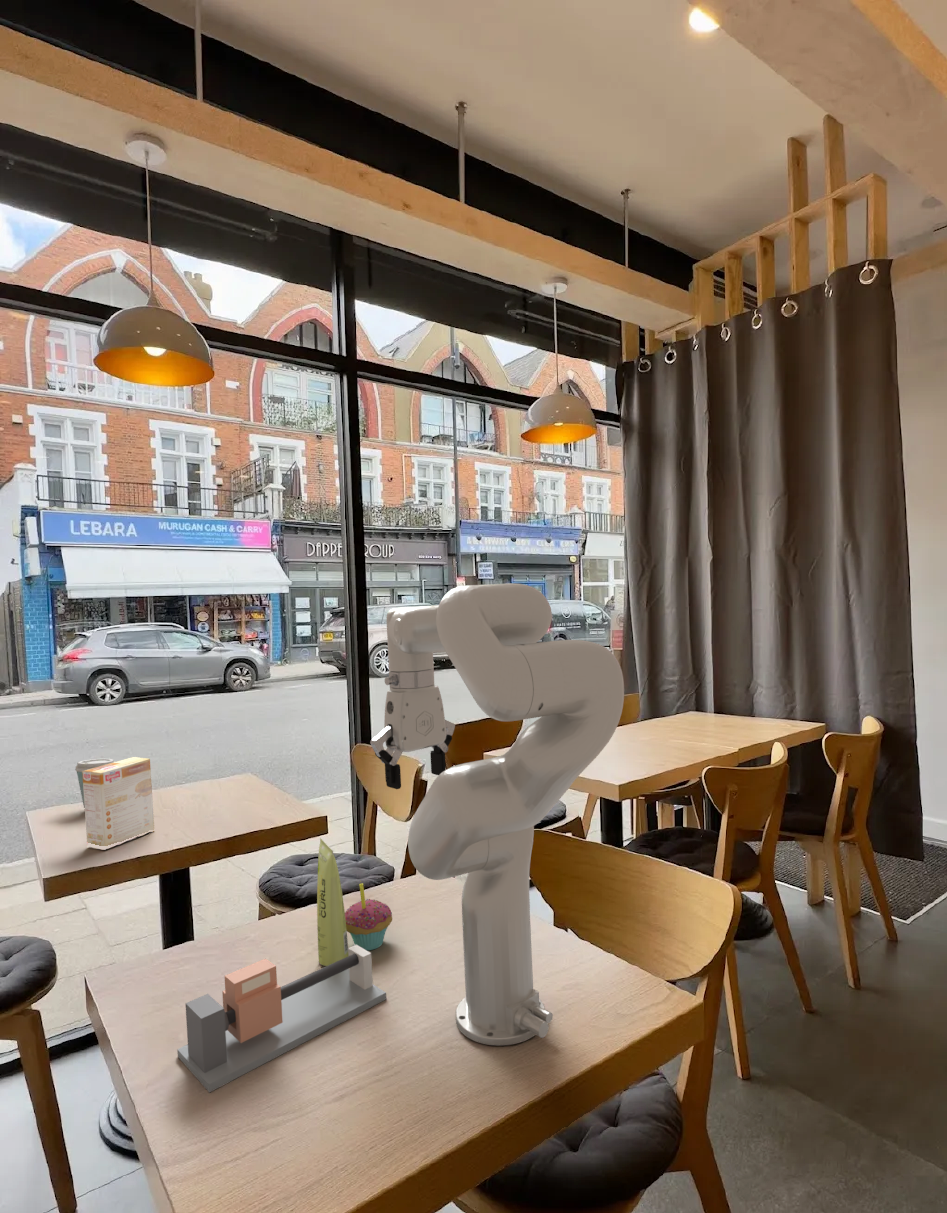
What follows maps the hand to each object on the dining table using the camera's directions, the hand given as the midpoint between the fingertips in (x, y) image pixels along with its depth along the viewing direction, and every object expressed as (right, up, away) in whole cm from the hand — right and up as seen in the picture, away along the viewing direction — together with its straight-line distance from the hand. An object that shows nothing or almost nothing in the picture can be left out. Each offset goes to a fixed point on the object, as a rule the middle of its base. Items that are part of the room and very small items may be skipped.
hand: (416, 781), depth 122 cm
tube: (-14, -29, -2) cm, 32 cm away
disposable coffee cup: (-100, -30, +89) cm, 138 cm away
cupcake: (-9, -29, +3) cm, 30 cm away
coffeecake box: (-80, -30, +63) cm, 106 cm away
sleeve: (-20, -27, -24) cm, 42 cm away
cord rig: (-17, -30, -20) cm, 40 cm away
